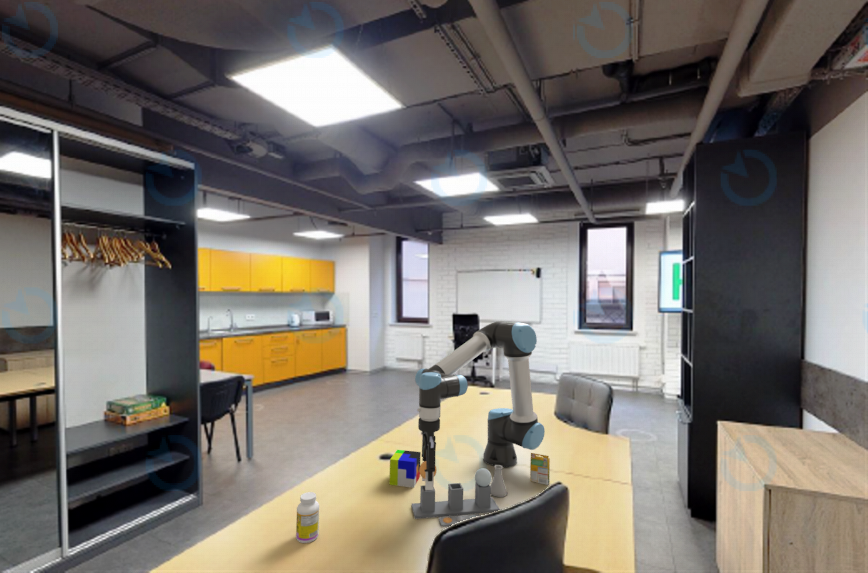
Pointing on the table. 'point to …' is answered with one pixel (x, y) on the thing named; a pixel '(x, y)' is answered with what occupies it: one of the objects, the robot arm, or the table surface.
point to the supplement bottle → (307, 518)
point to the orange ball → (423, 467)
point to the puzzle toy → (404, 468)
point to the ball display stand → (454, 502)
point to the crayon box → (539, 468)
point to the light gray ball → (483, 477)
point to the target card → (454, 519)
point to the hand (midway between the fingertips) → (427, 484)
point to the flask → (498, 483)
